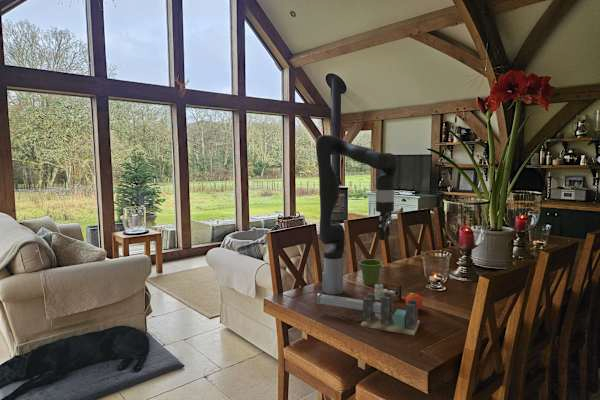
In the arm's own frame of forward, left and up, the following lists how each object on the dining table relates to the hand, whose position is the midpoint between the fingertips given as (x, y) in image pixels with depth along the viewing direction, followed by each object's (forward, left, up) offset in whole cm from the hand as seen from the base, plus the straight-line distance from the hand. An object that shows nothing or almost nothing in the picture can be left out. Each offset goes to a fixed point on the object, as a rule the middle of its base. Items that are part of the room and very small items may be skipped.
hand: (384, 237), depth 167 cm
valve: (-1, +8, -30) cm, 32 cm away
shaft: (-9, -18, -26) cm, 33 cm away
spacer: (+9, -18, -27) cm, 33 cm away
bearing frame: (+7, -18, -30) cm, 36 cm away
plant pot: (-14, +27, -30) cm, 43 cm away
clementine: (+12, +1, -30) cm, 33 cm away
